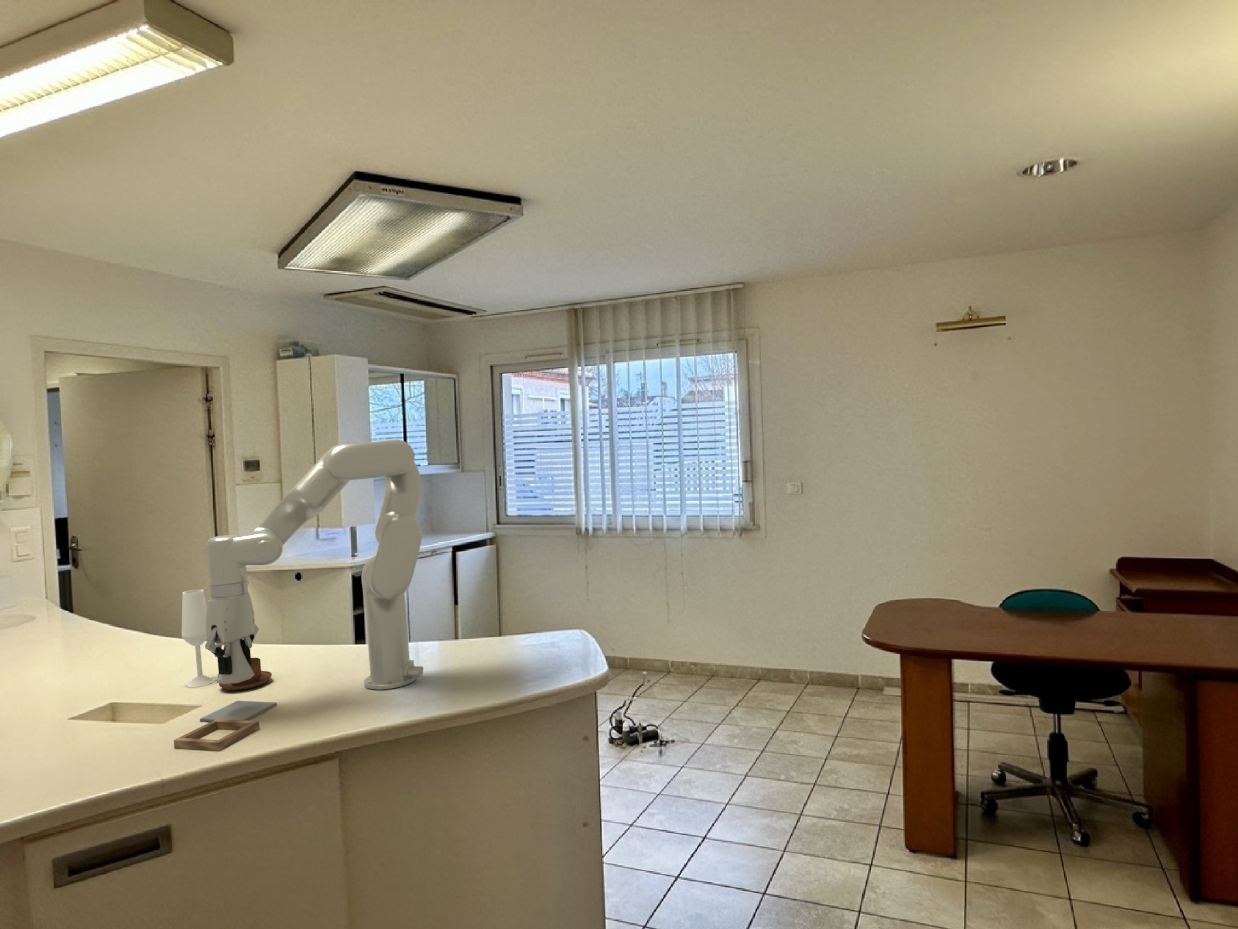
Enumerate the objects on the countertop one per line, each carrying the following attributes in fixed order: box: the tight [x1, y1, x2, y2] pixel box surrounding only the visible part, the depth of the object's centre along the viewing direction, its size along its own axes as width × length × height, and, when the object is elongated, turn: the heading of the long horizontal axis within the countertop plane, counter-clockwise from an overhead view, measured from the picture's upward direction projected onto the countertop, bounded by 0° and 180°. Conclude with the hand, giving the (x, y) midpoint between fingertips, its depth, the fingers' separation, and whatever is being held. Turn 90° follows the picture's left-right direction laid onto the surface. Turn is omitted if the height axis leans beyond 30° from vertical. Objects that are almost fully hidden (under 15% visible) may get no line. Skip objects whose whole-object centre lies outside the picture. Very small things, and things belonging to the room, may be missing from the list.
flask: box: [216, 639, 254, 684], centre depth 166 cm, size 7×7×10 cm
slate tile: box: [199, 700, 278, 723], centre depth 166 cm, size 11×11×1 cm
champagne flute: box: [181, 589, 216, 688], centre depth 190 cm, size 7×7×24 cm
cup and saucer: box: [217, 657, 273, 691], centre depth 186 cm, size 12×12×6 cm
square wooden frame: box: [173, 719, 260, 752], centre depth 152 cm, size 11×11×2 cm
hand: (235, 669), depth 166 cm, fingers closed on flask, 4 cm apart
